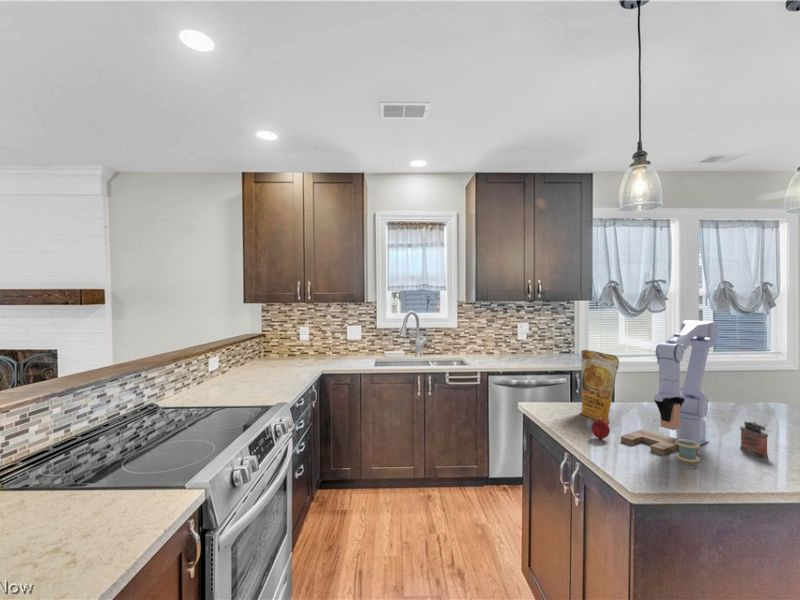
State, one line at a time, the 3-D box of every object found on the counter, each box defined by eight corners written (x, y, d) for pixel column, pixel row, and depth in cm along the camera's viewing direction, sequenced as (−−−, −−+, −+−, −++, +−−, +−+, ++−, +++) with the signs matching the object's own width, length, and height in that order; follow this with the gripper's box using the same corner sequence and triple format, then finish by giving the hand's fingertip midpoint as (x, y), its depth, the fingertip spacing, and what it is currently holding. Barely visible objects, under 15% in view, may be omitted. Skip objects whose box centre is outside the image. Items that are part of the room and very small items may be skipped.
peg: (666, 424, 131) (666, 401, 131) (679, 428, 128) (680, 404, 128) (660, 426, 130) (660, 402, 129) (673, 430, 126) (673, 405, 126)
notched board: (642, 434, 144) (642, 429, 144) (685, 446, 132) (685, 441, 132) (620, 441, 137) (620, 436, 137) (663, 455, 125) (663, 449, 125)
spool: (681, 452, 127) (681, 437, 127) (704, 459, 122) (703, 444, 122) (671, 457, 124) (670, 441, 124) (694, 464, 119) (694, 448, 119)
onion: (612, 443, 136) (611, 420, 136) (594, 441, 138) (594, 419, 137) (606, 437, 142) (606, 415, 142) (589, 436, 143) (589, 414, 143)
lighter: (737, 448, 130) (737, 419, 130) (746, 448, 131) (746, 418, 131) (761, 458, 122) (761, 427, 122) (771, 458, 123) (771, 426, 123)
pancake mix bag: (587, 410, 175) (587, 349, 174) (620, 424, 156) (620, 355, 156) (574, 411, 173) (574, 349, 173) (606, 425, 155) (606, 355, 154)
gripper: (671, 383, 122) (671, 426, 122) (693, 379, 129) (693, 419, 129) (647, 379, 128) (647, 420, 128) (670, 375, 135) (670, 414, 135)
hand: (669, 419), depth 129 cm, fingers closed on peg, 4 cm apart
